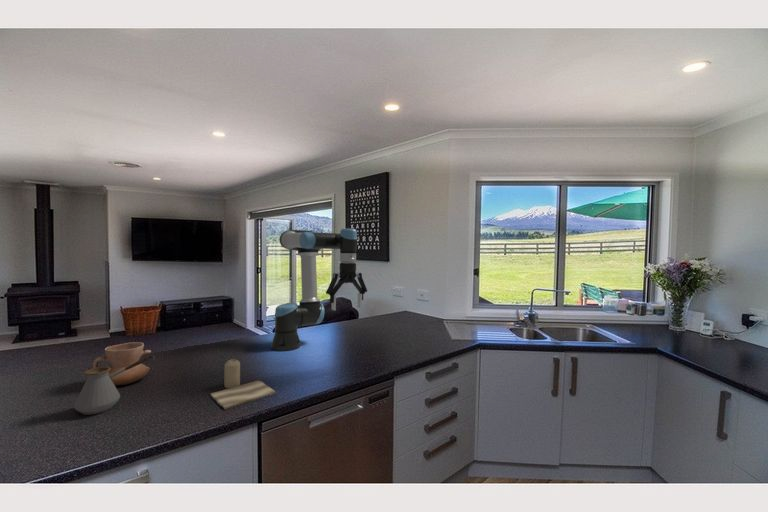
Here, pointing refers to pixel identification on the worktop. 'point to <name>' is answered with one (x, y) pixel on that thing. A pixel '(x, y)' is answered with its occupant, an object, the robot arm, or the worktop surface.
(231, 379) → the candle
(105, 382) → the coffee pot
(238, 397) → the birch board
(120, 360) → the stacked tan cups
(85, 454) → the worktop surface
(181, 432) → the worktop surface
